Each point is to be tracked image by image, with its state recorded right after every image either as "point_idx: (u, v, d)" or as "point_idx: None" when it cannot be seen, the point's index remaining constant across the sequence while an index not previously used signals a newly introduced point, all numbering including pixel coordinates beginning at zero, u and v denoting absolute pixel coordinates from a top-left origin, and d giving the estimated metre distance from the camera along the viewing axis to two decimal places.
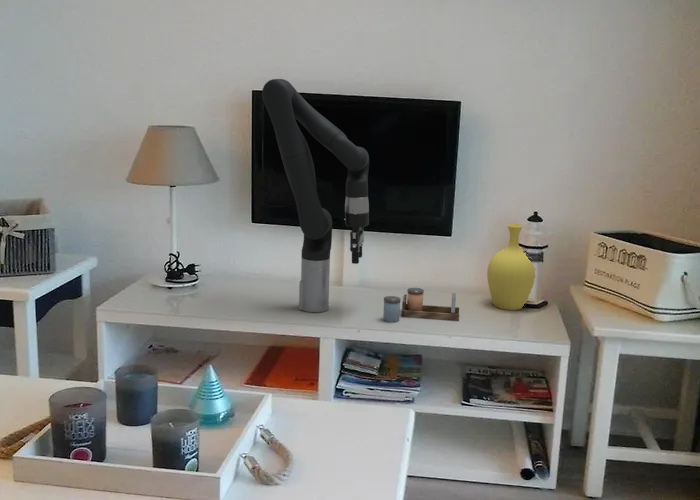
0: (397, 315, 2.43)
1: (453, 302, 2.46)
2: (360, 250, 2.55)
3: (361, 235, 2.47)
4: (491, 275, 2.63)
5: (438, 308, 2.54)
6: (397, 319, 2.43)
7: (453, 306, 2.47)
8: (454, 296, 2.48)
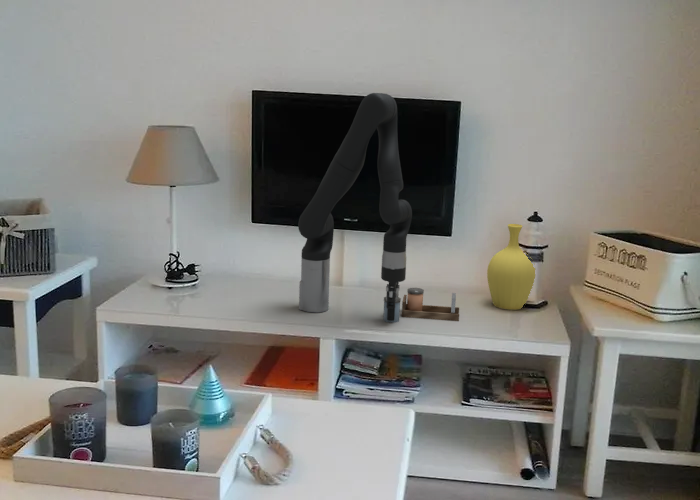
0: (397, 315, 2.43)
1: (453, 302, 2.46)
2: None
3: (397, 291, 2.41)
4: (491, 275, 2.63)
5: (438, 308, 2.54)
6: (397, 319, 2.43)
7: (453, 306, 2.47)
8: (454, 296, 2.48)
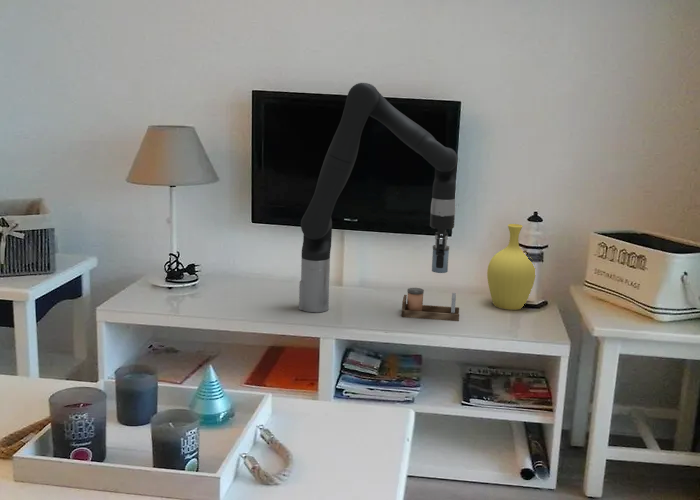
0: (446, 263, 2.45)
1: (453, 302, 2.46)
2: None
3: (446, 238, 2.43)
4: (491, 275, 2.63)
5: (438, 308, 2.54)
6: (446, 267, 2.46)
7: (453, 306, 2.47)
8: (454, 296, 2.48)
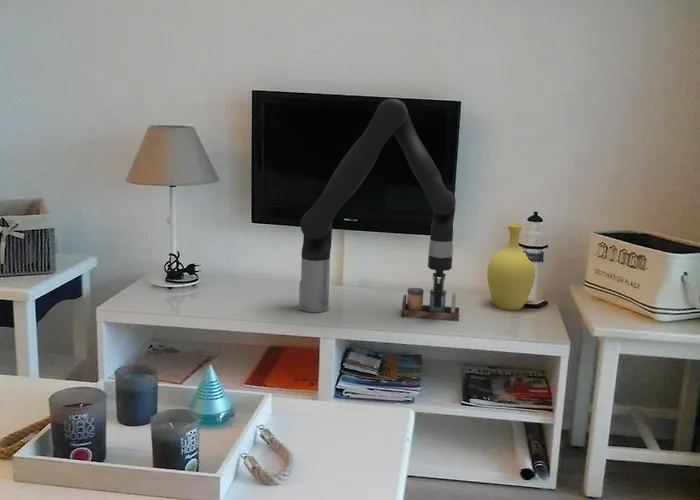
0: (443, 307, 2.49)
1: (453, 302, 2.46)
2: None
3: (444, 279, 2.46)
4: (491, 275, 2.63)
5: None
6: (443, 311, 2.49)
7: (453, 306, 2.47)
8: (454, 296, 2.48)
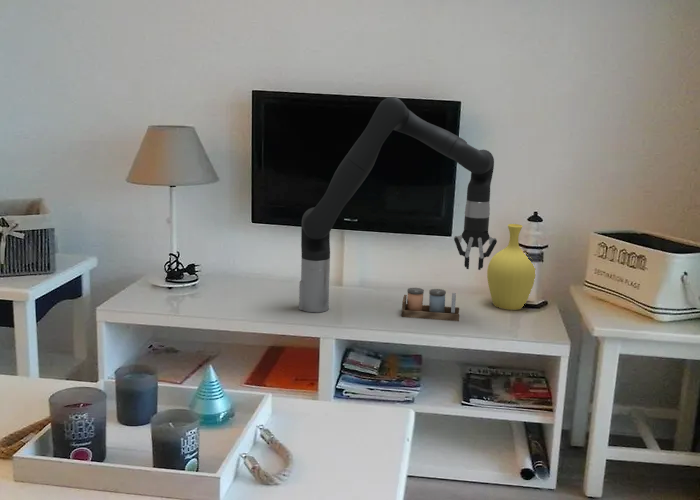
0: (442, 307, 2.49)
1: (453, 302, 2.46)
2: None
3: (468, 240, 2.43)
4: (491, 275, 2.63)
5: None
6: (442, 311, 2.49)
7: (453, 306, 2.47)
8: (454, 296, 2.48)
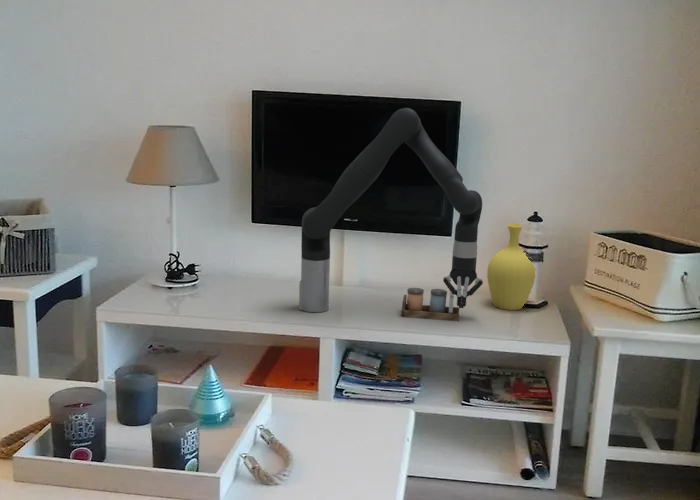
0: (442, 308, 2.49)
1: (451, 302, 2.46)
2: None
3: (457, 280, 2.46)
4: (491, 275, 2.63)
5: None
6: (442, 312, 2.49)
7: (451, 306, 2.47)
8: (452, 296, 2.48)
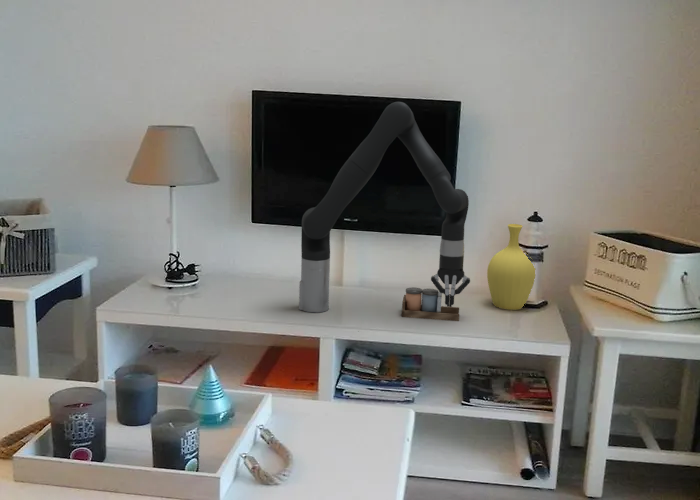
0: (434, 307, 2.49)
1: (439, 301, 2.47)
2: None
3: (444, 279, 2.46)
4: (491, 275, 2.63)
5: None
6: (434, 311, 2.49)
7: (439, 305, 2.47)
8: (440, 295, 2.48)
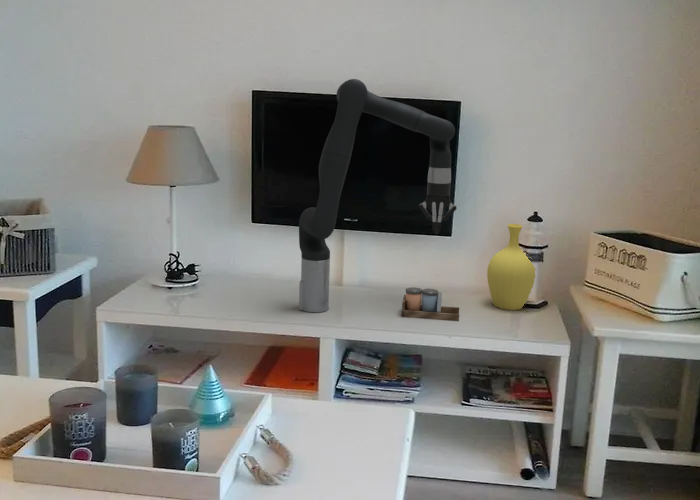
0: (434, 307, 2.49)
1: (439, 301, 2.47)
2: None
3: (432, 206, 2.57)
4: (491, 275, 2.63)
5: None
6: (434, 311, 2.49)
7: (439, 305, 2.47)
8: (440, 295, 2.48)
